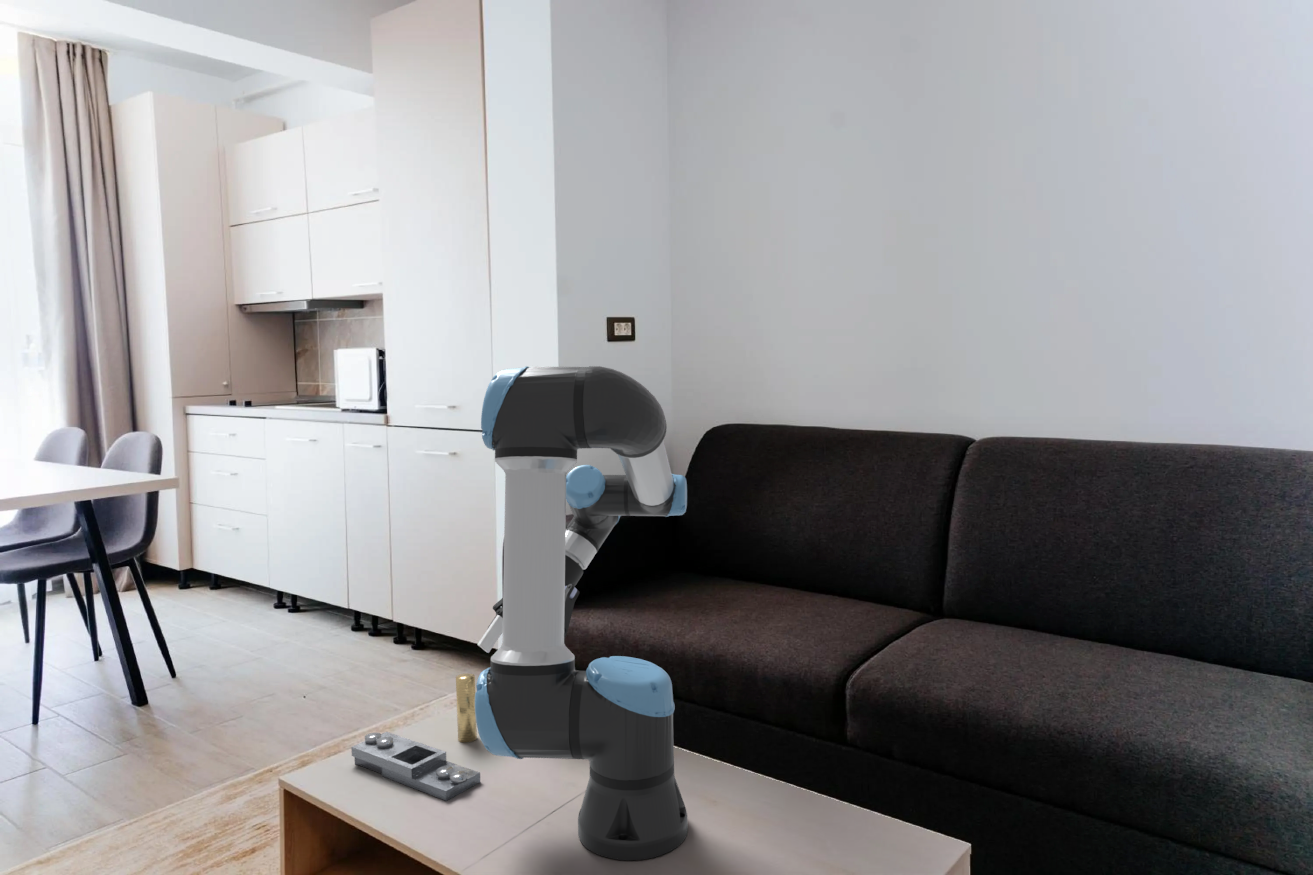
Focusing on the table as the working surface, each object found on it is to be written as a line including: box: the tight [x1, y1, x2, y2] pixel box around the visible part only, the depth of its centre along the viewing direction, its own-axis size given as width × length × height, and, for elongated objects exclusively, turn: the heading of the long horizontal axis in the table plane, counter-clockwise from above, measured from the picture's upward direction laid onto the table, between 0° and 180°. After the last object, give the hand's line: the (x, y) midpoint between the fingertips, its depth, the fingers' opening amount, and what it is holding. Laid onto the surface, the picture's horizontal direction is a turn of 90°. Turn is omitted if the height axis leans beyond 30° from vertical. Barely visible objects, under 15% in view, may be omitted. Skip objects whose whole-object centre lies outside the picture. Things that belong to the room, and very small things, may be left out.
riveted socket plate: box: [350, 731, 481, 802], centre depth 139 cm, size 23×7×4 cm, turn 56°
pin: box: [455, 673, 478, 744], centre depth 151 cm, size 3×3×11 cm
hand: (503, 657), depth 157 cm, fingers open, 13 cm apart
